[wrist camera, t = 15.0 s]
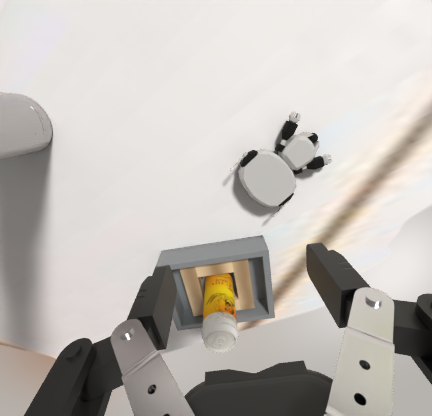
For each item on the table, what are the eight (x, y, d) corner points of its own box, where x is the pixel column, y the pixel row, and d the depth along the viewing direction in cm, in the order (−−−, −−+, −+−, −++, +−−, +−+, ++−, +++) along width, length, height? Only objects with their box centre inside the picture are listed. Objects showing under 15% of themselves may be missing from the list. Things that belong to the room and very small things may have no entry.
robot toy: (288, 106, 38) (224, 168, 41) (299, 104, 34) (227, 173, 37) (327, 158, 42) (266, 211, 45) (341, 162, 37) (273, 220, 40)
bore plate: (194, 305, 53) (193, 316, 51) (181, 258, 48) (179, 267, 45) (252, 297, 53) (254, 308, 50) (245, 248, 47) (247, 257, 44)
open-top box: (181, 310, 55) (177, 330, 50) (161, 250, 48) (155, 267, 43) (269, 298, 54) (274, 317, 49) (262, 235, 47) (268, 250, 42)
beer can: (237, 274, 50) (245, 337, 36) (223, 292, 52) (226, 358, 38) (213, 263, 48) (213, 324, 35) (200, 282, 51) (195, 346, 37)
